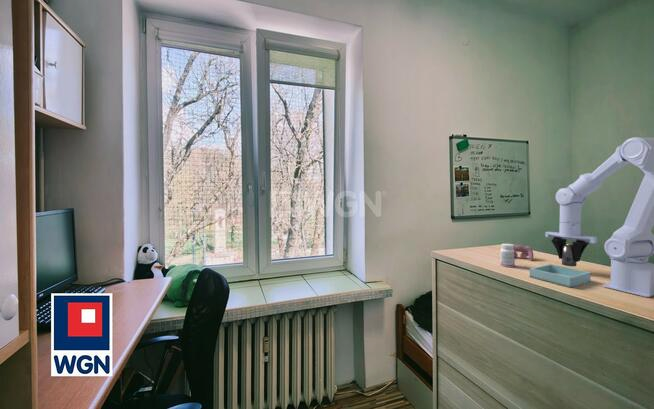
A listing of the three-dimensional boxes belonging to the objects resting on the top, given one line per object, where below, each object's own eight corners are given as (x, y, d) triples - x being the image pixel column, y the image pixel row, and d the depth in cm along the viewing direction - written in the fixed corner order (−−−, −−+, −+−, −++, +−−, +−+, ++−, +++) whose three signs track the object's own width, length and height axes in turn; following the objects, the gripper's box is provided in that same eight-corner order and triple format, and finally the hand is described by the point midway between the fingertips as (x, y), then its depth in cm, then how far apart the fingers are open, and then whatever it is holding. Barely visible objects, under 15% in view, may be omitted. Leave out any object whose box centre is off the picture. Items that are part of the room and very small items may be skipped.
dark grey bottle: (578, 265, 99) (579, 244, 99) (572, 267, 98) (573, 245, 97) (565, 262, 103) (566, 242, 102) (559, 264, 101) (559, 243, 101)
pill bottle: (516, 267, 107) (517, 245, 106) (503, 267, 108) (503, 245, 107) (511, 264, 112) (511, 243, 111) (498, 263, 113) (498, 243, 112)
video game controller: (533, 263, 118) (532, 246, 120) (534, 260, 114) (533, 244, 116) (505, 260, 123) (505, 244, 125) (505, 257, 119) (505, 242, 122)
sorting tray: (590, 281, 90) (590, 272, 90) (569, 287, 85) (570, 278, 85) (549, 272, 100) (549, 263, 100) (529, 277, 96) (529, 268, 96)
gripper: (602, 223, 94) (601, 263, 95) (553, 219, 107) (552, 254, 108) (591, 225, 91) (590, 265, 92) (542, 220, 105) (541, 256, 105)
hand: (569, 259), depth 100 cm, fingers closed on dark grey bottle, 4 cm apart
